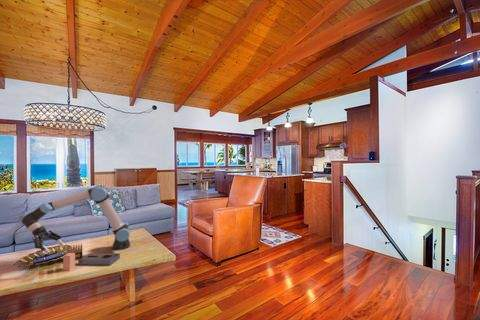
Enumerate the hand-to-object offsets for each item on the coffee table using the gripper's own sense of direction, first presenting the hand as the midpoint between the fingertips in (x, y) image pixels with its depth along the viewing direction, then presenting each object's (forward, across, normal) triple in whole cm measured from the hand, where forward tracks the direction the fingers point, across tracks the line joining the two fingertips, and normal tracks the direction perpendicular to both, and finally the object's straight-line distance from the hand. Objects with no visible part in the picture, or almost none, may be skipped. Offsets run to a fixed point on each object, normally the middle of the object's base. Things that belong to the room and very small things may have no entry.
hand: (56, 249), depth 168 cm
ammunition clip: (+11, -17, -10) cm, 23 cm away
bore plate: (+28, -13, +8) cm, 32 cm away
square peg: (+18, 0, -3) cm, 18 cm away
